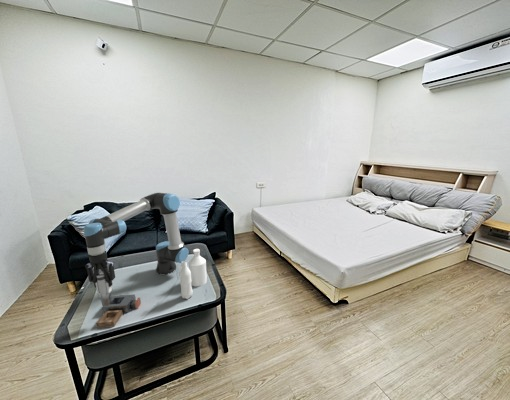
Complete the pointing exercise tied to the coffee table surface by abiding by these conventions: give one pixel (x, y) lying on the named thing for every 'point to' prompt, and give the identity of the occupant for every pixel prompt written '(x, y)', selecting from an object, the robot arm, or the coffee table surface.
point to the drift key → (135, 303)
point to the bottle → (198, 269)
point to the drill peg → (103, 289)
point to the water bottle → (185, 281)
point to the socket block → (119, 303)
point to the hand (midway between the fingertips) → (104, 291)
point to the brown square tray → (109, 318)
